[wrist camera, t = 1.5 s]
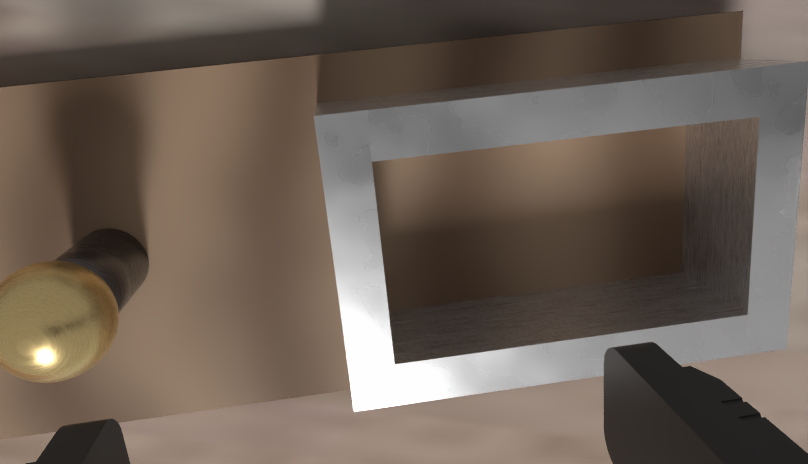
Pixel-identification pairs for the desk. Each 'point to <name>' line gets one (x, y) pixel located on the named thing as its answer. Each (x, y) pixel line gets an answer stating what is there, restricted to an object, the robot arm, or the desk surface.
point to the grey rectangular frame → (588, 304)
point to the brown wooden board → (320, 208)
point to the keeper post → (68, 306)
